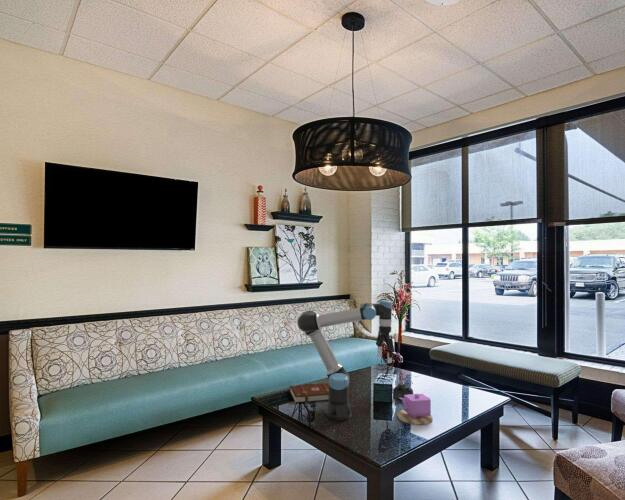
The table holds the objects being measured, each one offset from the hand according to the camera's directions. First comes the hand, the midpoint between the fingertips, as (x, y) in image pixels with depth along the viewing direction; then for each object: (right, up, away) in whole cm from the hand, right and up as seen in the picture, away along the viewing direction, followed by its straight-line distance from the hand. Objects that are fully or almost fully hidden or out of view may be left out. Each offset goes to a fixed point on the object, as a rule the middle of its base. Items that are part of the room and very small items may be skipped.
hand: (384, 359), depth 238 cm
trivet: (+15, -31, -13) cm, 37 cm away
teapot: (+15, -30, -13) cm, 36 cm away
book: (-43, -32, +24) cm, 59 cm away
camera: (+16, -31, +17) cm, 39 cm away
